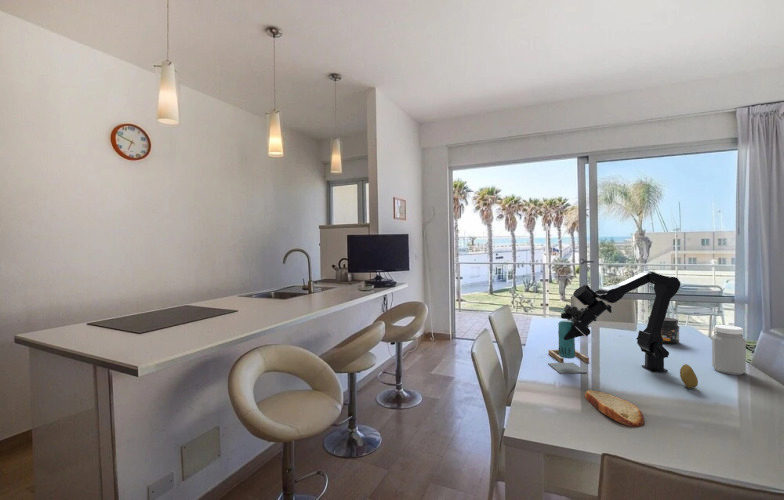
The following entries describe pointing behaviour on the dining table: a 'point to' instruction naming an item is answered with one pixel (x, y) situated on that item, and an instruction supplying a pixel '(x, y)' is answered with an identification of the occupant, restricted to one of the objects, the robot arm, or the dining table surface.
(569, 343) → the beverage bottle
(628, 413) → the bread slice
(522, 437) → the dining table surface
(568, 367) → the rubber mat
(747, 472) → the dining table surface
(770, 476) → the dining table surface
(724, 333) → the jar
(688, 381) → the potato
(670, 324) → the supplement container
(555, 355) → the frame
